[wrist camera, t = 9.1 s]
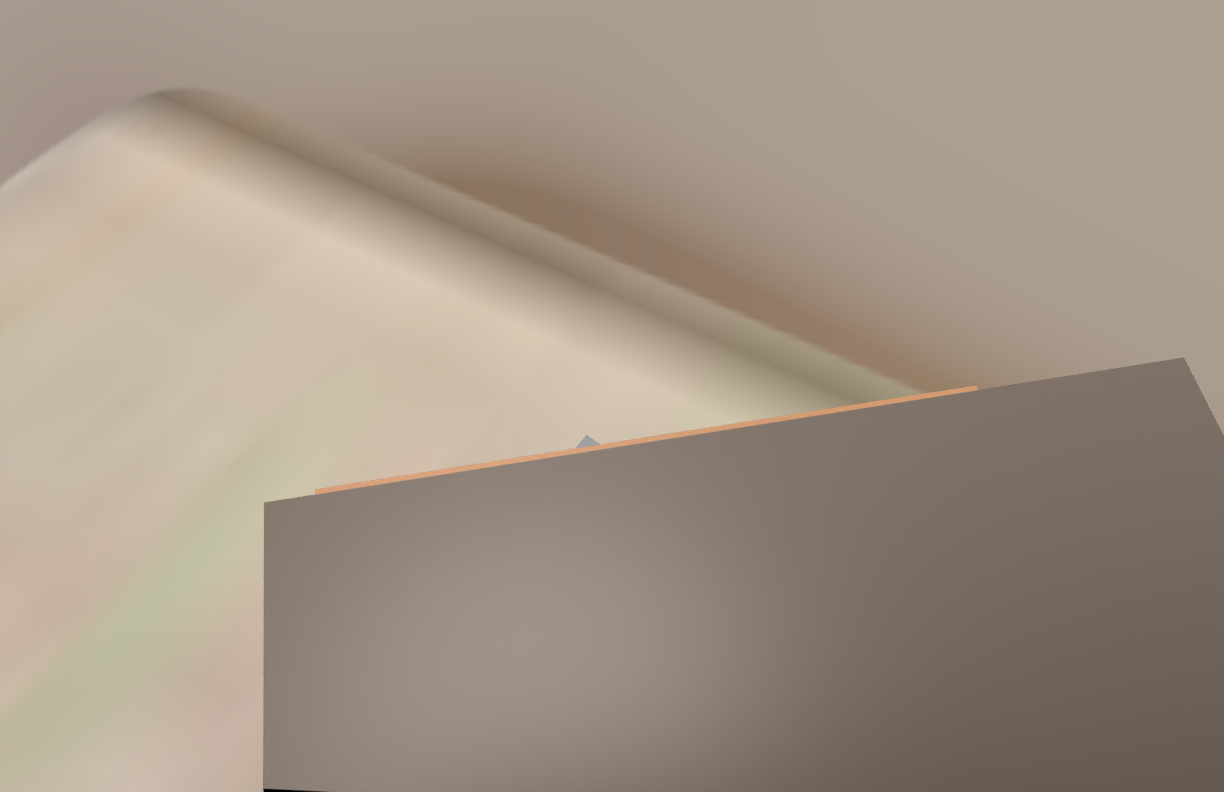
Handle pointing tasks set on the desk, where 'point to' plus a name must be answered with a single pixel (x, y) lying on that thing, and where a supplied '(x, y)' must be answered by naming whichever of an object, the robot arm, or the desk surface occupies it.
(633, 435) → the desk surface
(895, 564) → the plug
